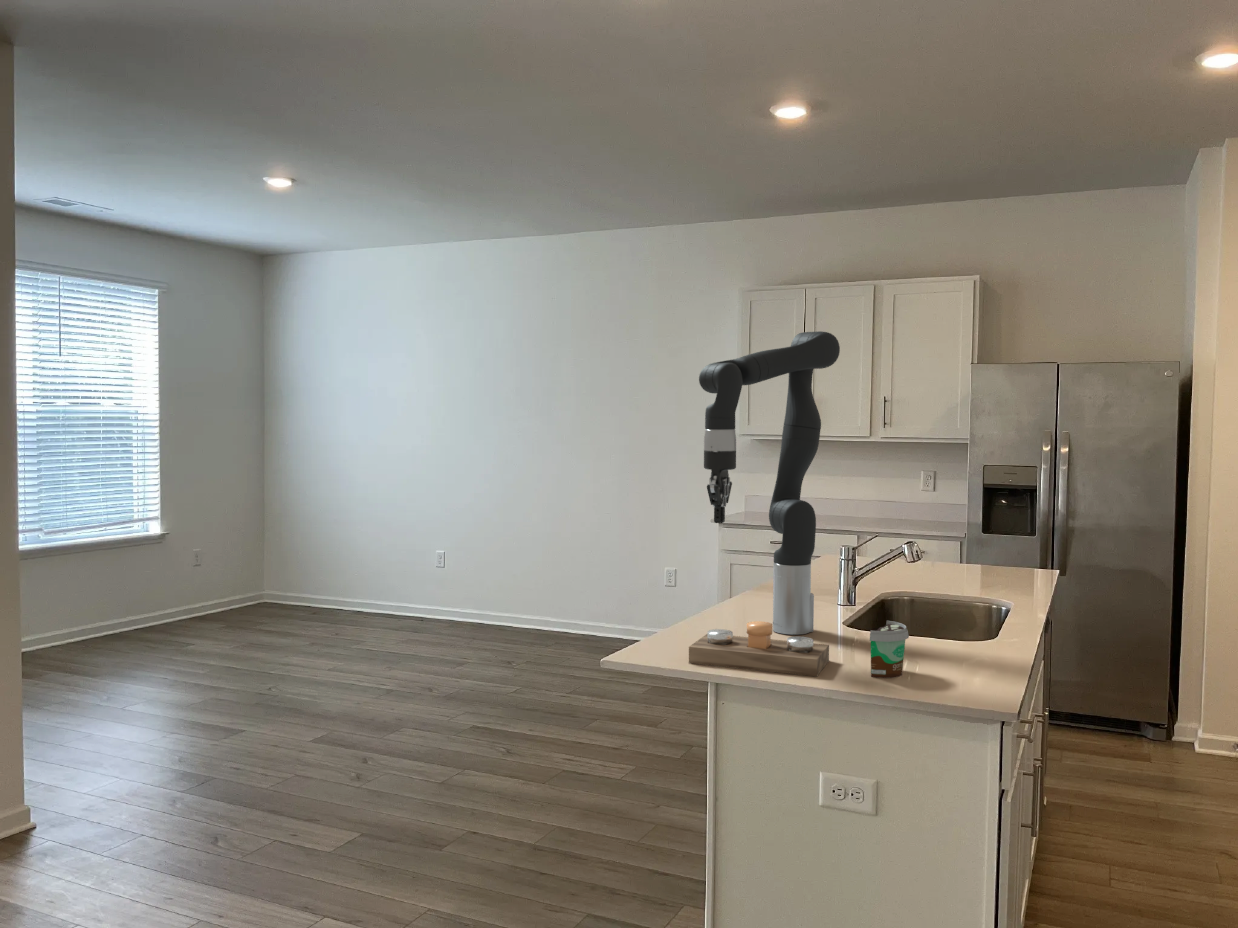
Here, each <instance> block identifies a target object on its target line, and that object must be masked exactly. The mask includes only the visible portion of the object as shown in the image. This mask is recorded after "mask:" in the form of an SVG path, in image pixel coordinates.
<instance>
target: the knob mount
mask: <svg viewBox="0 0 1238 928" xmlns="http://www.w3.org/2000/svg"><path fill="white" fill-rule="evenodd" d="M829 662H830V644H827V643H825V644H824V643H816V642H813V650H812V651H810V652H809V653H803V652H792V651H789V650H788V649H787V640H782V639H773V638H772V639H771V642H770V646H769V647H768V648H767V649H762V648H751V647H748V636H743V635H742V636H740V635H739V636H738V635H733V642H731V643H729V644H728V645H721V644H710V643H709V642H708V641H707V633H706V634H704V635H703V636H702V637H701V638H699V639H698V640H697V641H695V642H693V643H692V644H690V645H689V646H688V664H694V665H695V664H696V665H704V666H713V667H721V668H722V667H723V668H731V669H732V668H734V669H741V670H751V671H752V670H753V671H759V672H760V671H761V672H769V673H772V672H773V673H781V674H789V675H799V676H807V677H808V676H809V677H818V675H819V674H820V673H821V671H822V670H823V669H824V667H826V665H828V663H829Z"/></svg>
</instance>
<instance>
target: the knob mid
mask: <svg viewBox="0 0 1238 928" xmlns="http://www.w3.org/2000/svg"><path fill="white" fill-rule="evenodd" d="M746 634H747V635H748V636H747V637H748V647H751V648H762V649H767V648H768V647H769V646H770V642H771V637H772V635H773V622H772V623H771V622H768V621H760V620H759V621H757V620H755V621H749V622H747V623H746Z"/></svg>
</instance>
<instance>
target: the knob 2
mask: <svg viewBox="0 0 1238 928" xmlns="http://www.w3.org/2000/svg"><path fill="white" fill-rule="evenodd" d="M786 641H787V649H788V650H789V651H792V652H803V653H809V652H810V651H812V650H813V643H814V639H813V638H811V637H808V636H799V635H798V636H797V635H796V636H795V635H794V636H790V637H787V638H786Z"/></svg>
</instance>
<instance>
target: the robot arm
mask: <svg viewBox="0 0 1238 928" xmlns="http://www.w3.org/2000/svg"><path fill="white" fill-rule="evenodd" d="M840 347H841V345H840V342H839V340H838V338H837V337H836V336H835V335H834V334H832V333H831V332H829V331H822V330H820V331H803V332H800V333H799V332H798V334H796V335H795V336H794V337H793V339H792V341H791V344H790V346H786V347H780V348H774V349H773V348H772V349H767V350H762V351H757V352H754V353H750V354H746V355H742V356H739V357H737V358H733V359H728V360H722V361H717V362H712V363H709V364H707V365H706V366H704V367H703V368H702V369H701V371H700V373H699V374H698V375H699V377H698V384H699V385H700V387H701V389H702V390H703V391H705V392H706V393H709V394H716V396H715V400H714V402H713V403H710V404H709V405H707V406H706V408H705V413H704V415H705V418H704V428H705V430H704V436H703V437H704V438H703V468H704V469H705V470H710V471H711V473H710V477H709V480H708V481H709V484H708V483H707V485H706V489H707V490H706V491H707V494H708V498H709V503H710V505H711V506H712V507H713V522H714V524H723V523H725V521H726V507H727V504H728V503H729V500H730V496H731V491H732V485H733V482H732V481H731V477H730V475H729V471H732V470H736V468H737V433H736V413H737V412H736V411H737V407H738V404H739V402H740V397H741V394H742V393H741V392H742V388H743V386H750V385H754V384H758V383H761V382H764V381H767V380H771V379H773V378H776V377H779V376H783V375H784V376H785V375H787V374H788V384H787V385H788V386H787V396H786V406H785V416H784V420H783V427H782V434H781V445H780V452H779V453H780V454H779V461H778V467H777V472H776V473H777V474H776V481H775V485H774V488H773V493H772V497H771V501H770V506H769V511H768V521H769V525H770V526H771V528H772V529H773V531H775V532H776V533H777V534H780V535H781V534H782V538H781V539H782V540H781V545H780V547H779V548H778V549H776V550H775V551H774V553H773V572H772V573H773V586H772V587H773V591H772V595H773V596H772V599H773V600H772V632H775V633H778V634H783V635H792V636H795V635H796V636H797V635H798V636H799V635H806V634H809V633H813V632H814V626H815V624H814V623H815V621H814V620H815V619H814V617H815V614H814V613H815V610H814V608H815V595H814V593H812V592H811V590H812V588H811V585H812V584H811V583H812V580H811V579H812V576H811V575H812V557H813V555H814V552H815V548H816V547H815V544H816V530H817V517H816V512H815V510H814V507H813V505H812V504H811V503H809V502H808V501H806V500H803V499H802V500H801V494H802V486H803V481H804V479H805V475H806V474H807V472H808V469H809V468H810V466H811V465H812V462H813V461H814V459H815V456H816V455H817V452H818V448H819V444H820V439H821V438H820V437H821V429H822V420H821V416H820V412H819V409H818V406H817V404H816V401H815V398H814V395H813V388H812V383H813V375H814V374H813V373H814V370H815V369H816V370H817V369H819V370H820V369H821V370H822V369H826V368H829V367H831V366H833V365H834V364H835V363H836V362H837V360H838V359H839V356H840V351H841V350H840Z"/></svg>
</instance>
